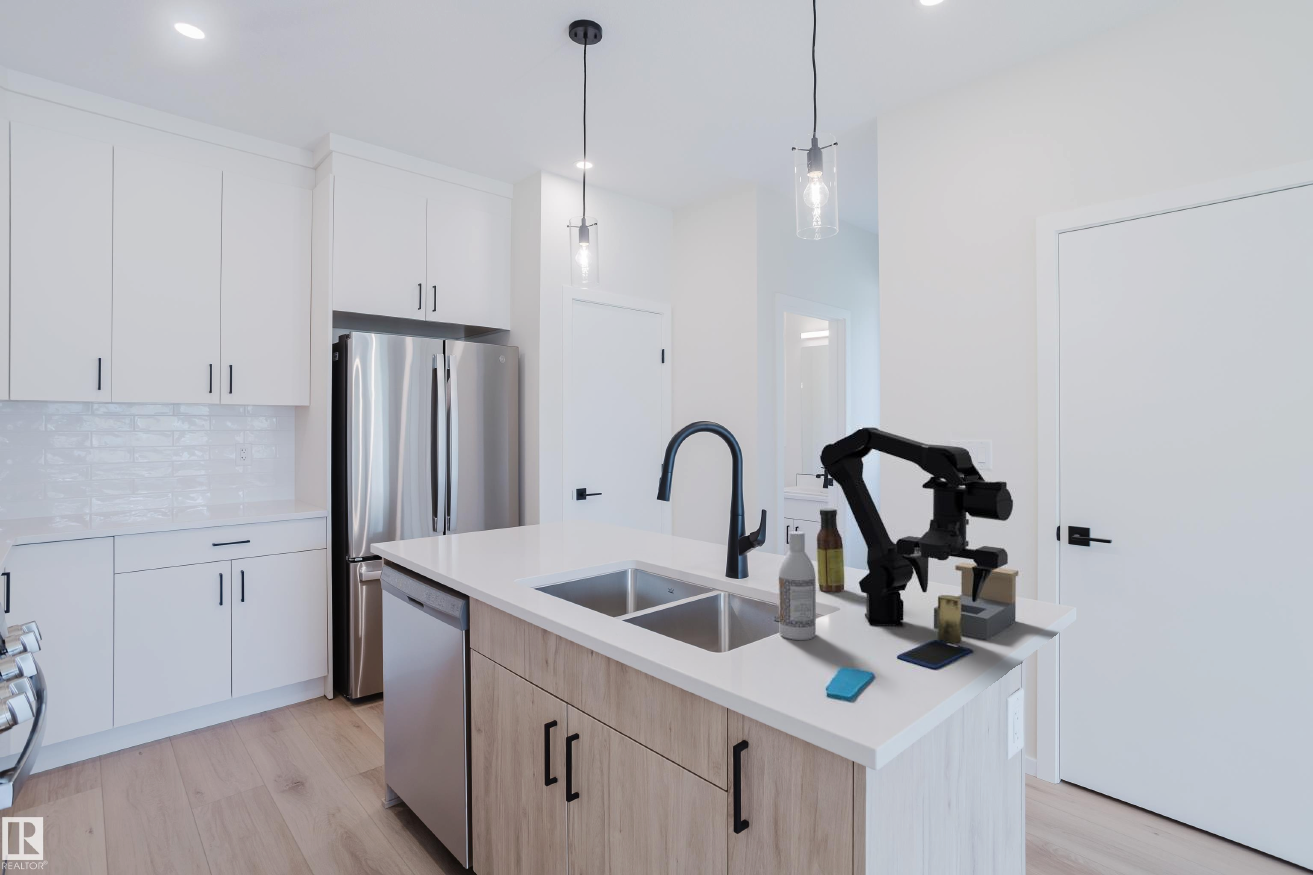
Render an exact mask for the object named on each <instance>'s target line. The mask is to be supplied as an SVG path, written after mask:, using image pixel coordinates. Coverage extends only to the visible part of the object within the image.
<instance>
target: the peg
mask: <svg viewBox="0 0 1313 875" xmlns="http://www.w3.org/2000/svg"><path fill="white" fill-rule="evenodd" d="M957 596H958V595H957ZM957 596H956V595H952V594H951V595H950V594H942V595H941V594H940V595H938V596H937V606H938V629H937V640H940V641H944V642H948V643H952V644H955V645H958V644H961V643H962V634H961V598H960V597H957Z"/></svg>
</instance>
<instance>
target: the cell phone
mask: <svg viewBox="0 0 1313 875" xmlns="http://www.w3.org/2000/svg"><path fill="white" fill-rule="evenodd" d="M973 653H974V650H973V648H970V647H966V646H963V645H959V644H952V643H948V642H944V641H940V640H938V639H933V640H930V641H928V642H926V643H923V644H921V645H919V646H916V647H914V648H911V649H910V650H907V651H904V652H902V653H900V654H897V656H896V659H897V660H899V661H902V662H906V663H908V664H913V665H915V666H919V667H923V668H925V669H928V670H933V671H934V670H935V671H936V670H939V669H942V668H944V667H946V666H948V665H950V664H952V663H955V662H956V661H959V660H960V659H962V658H964V657H967V656H968V655H970V654H973Z"/></svg>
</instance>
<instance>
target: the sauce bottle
mask: <svg viewBox="0 0 1313 875" xmlns="http://www.w3.org/2000/svg"><path fill="white" fill-rule="evenodd" d="M819 515H820V528H819V531H818V533H817V535H816V558H817V559H816V560H817V561H816V562H817V583H818V589H819V590H820V591H822V592H826V593H832V594H833V593H840V592H843V591H844V590H845V566H844V565H845V564H844V560H845V559H844V546H843V545H844V544H843V538H842V536H841V534H840V532H839V530H838V524H837V522H838V521H837V516H838V510H837V509H836V508H829V507H828V508H820V509H819Z"/></svg>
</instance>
